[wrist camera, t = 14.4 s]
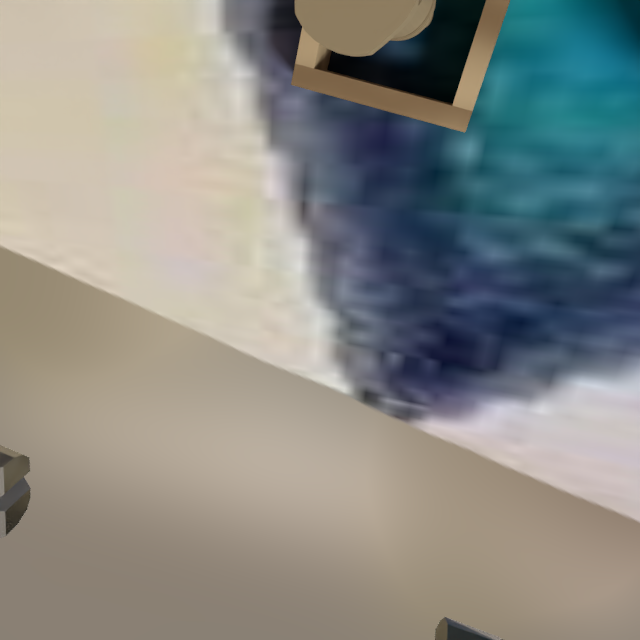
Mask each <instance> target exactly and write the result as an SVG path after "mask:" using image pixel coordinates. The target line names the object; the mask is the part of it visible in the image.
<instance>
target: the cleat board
mask: <svg viewBox="0 0 640 640" xmlns="http://www.w3.org/2000/svg"><path fill="white" fill-rule="evenodd" d="M509 2H510V0H486V3H485V6H484V9H483V12H482V15H481V18H480V21H479V24H478V27H477V30H476V34H475V37H474V40H473V43H472V46H471V49H470V52H469V55H468V58H467V61H466V64H465V68H464V71H463V74H462V77H461V80H460V83H459V86H458V89H457V92H456V95H455V99H454V102H453V104H451V103H447V102H444V101H440V100H436V99H432V98H429V97H425V96H421V95H418V94H414V93H410V92H406V91H403V90H399V89H395V88H391V87H388V86H384V85H380V84H377V83H373V82H369V81H365V80H362V79H358V78H354V77H351V76H347V75H343V74H339V73H336V72H332V71H328V70H327V69H328V65H329V60H330V56H331V51H332V50H329V49H327V48H325V47H324V46H322V45H321V44H319V43H318V42H316V41H315V40H314V39H313V38H312V37H311V36H310V35H309V34H308V33H307V32H306V31H305V30H304V28H303V27H302V31H301V36H300V41H299V46H298V52H297V57H296V62H295V67H294V72H293V77H292V83H291V85H294V86H298V87H301V88H305V89H309V90H312V91H316V92H320V93H323V94H327V95H331V96H334V97H338V98H341V99H345V100H349V101H352V102H356V103H360V104H363V105H367V106H371V107H374V108H378V109H382V110H385V111H389V112H393V113H396V114H400V115H403V116H407V117H411V118H414V119H418V120H422V121H425V122H429V123H433V124H436V125H440V126H444V127H447V128H451V129H455V130H458V131H462V132H465V131H466V129H467V126H468V123H469V120H470V117H471V114H472V111H473V108H474V105H475V102H476V99H477V96H478V93H479V90H480V87H481V84H482V82H483V79H484V76H485V73H486V70H487V67H488V64H489V61H490V58H491V55H492V52H493V49H494V46H495V43H496V40H497V37H498V35H499V32H500V29H501V26H502V23H503V20H504V17H505V14H506V11H507V8H508V5H509Z"/></svg>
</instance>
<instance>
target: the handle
mask: <svg viewBox="0 0 640 640" xmlns="http://www.w3.org/2000/svg"><path fill="white" fill-rule="evenodd" d="M435 4H436V0H295V14H296V16H297V18H298V20H299V22H300V24H301V25H302V27H303V28H304V30H305V31H306V32H307V33H308V34H309V35H310V36H311V37H312V38H313V39H314V40H315V41H316V42H318V43H319V44H321V45H322V46H324V47H325V48H327V49H329V50H332V51H334V52H336V53H340V54H344V55H348V56H369V55H373V54H374V53H375V52H376V51H378V50H379V49H380V48H381V47H383V46H384V45H385V44H386V43H387V42H388V41H390V40H394V41H400V40H406V39H410V38H412V37H414V36H416V35H417V34H419V33H420V32H421V31H422V30H423V29H424V28H425V27H427V26H428V25H429V24H430V22H431V21H432V18H433V12H434V9H435Z"/></svg>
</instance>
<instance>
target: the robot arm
mask: <svg viewBox="0 0 640 640" xmlns="http://www.w3.org/2000/svg"><path fill="white" fill-rule="evenodd" d="M29 471H30V460H29V457H27V456H25V455H22V454H20V453H18V452H15V451H13V450H11V449H8V448H5V447H4V446H1V445H0V538H2V537H5V536H6V535H7V534H8V533H9V532H10V531H11V530H12V529H13V528H14V527H15V526H16V525H17V524H18V523H19V521H20V520H21V518H22V516H23V515H24V513H25V512H26V510H27V507H28V504H29V501H30V487H29V485H28V483H27V482H26V480H25V479H24V476H25V475H26V474H27V473H28V472H29ZM435 640H503V639H500V638H499V637H497V636H494V635H492V634H489V633H486V632H484V631H481V630H478V629H475V628H473V627H470V626H468V625H465V624H462V623H459V622H457V621H454V620H451V619H449V618H446V617H444V618H443V619H442V620H441V621H440V622H439V624H438V626H437V628H436V632H435Z"/></svg>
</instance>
